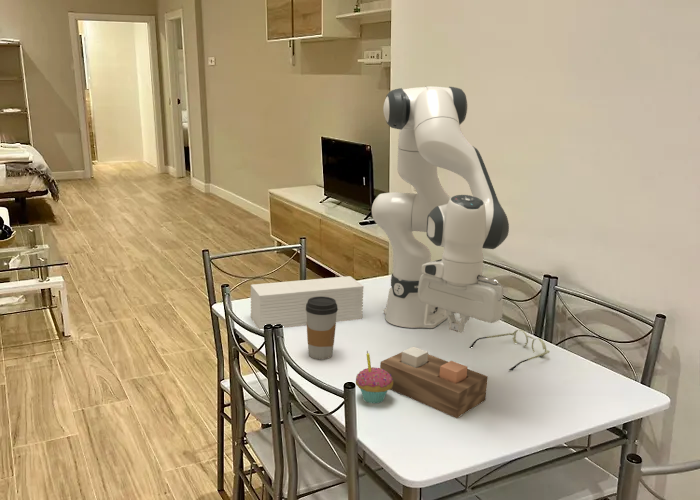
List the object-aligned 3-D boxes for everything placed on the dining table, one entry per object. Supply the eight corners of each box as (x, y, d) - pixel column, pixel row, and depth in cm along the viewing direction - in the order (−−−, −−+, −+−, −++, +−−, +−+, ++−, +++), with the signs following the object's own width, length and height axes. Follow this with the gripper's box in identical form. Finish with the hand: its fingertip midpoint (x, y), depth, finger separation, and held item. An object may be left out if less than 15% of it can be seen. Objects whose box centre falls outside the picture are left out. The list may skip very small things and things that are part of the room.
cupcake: (361, 409, 144) (363, 359, 141) (350, 391, 152) (352, 344, 149) (397, 405, 146) (400, 356, 143) (385, 388, 154) (387, 341, 151)
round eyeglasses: (552, 363, 173) (554, 345, 171) (509, 373, 165) (511, 355, 164) (508, 340, 187) (510, 323, 186) (467, 349, 180) (468, 332, 178)
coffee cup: (332, 363, 167) (333, 308, 163) (300, 359, 168) (301, 304, 164) (339, 350, 174) (341, 297, 171) (309, 346, 176) (310, 294, 172)
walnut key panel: (409, 369, 164) (411, 347, 163) (485, 400, 150) (487, 376, 148) (379, 384, 156) (380, 361, 154) (456, 418, 141) (458, 393, 140)
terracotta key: (449, 376, 151) (451, 360, 150) (466, 382, 148) (467, 366, 147) (438, 382, 148) (440, 366, 147) (455, 388, 145) (456, 372, 144)
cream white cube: (412, 361, 158) (413, 346, 157) (426, 367, 155) (427, 352, 154) (401, 367, 155) (401, 351, 154) (415, 373, 152) (416, 357, 151)
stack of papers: (349, 308, 208) (350, 276, 205) (362, 319, 198) (363, 286, 195) (250, 318, 196) (250, 284, 193) (259, 331, 186) (259, 295, 184)
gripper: (511, 278, 137) (505, 340, 140) (432, 259, 150) (428, 315, 153) (496, 284, 132) (490, 347, 136) (415, 263, 146) (411, 322, 149)
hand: (456, 330), depth 145 cm, fingers closed
